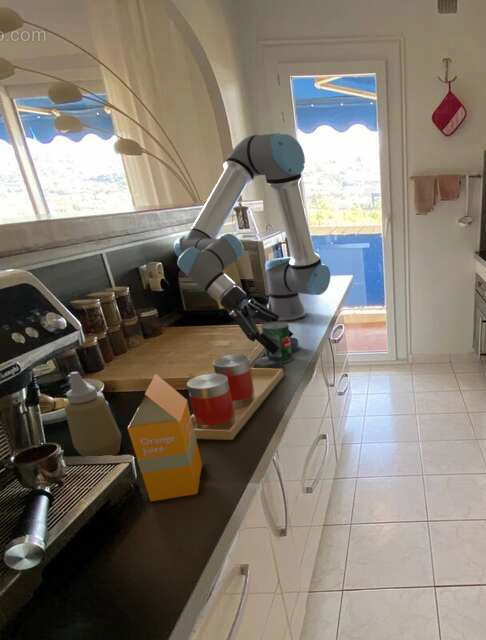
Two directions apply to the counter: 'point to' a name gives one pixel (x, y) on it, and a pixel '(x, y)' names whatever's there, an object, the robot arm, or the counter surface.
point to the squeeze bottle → (90, 420)
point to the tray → (262, 386)
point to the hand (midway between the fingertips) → (284, 344)
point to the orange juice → (165, 443)
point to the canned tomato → (278, 339)
